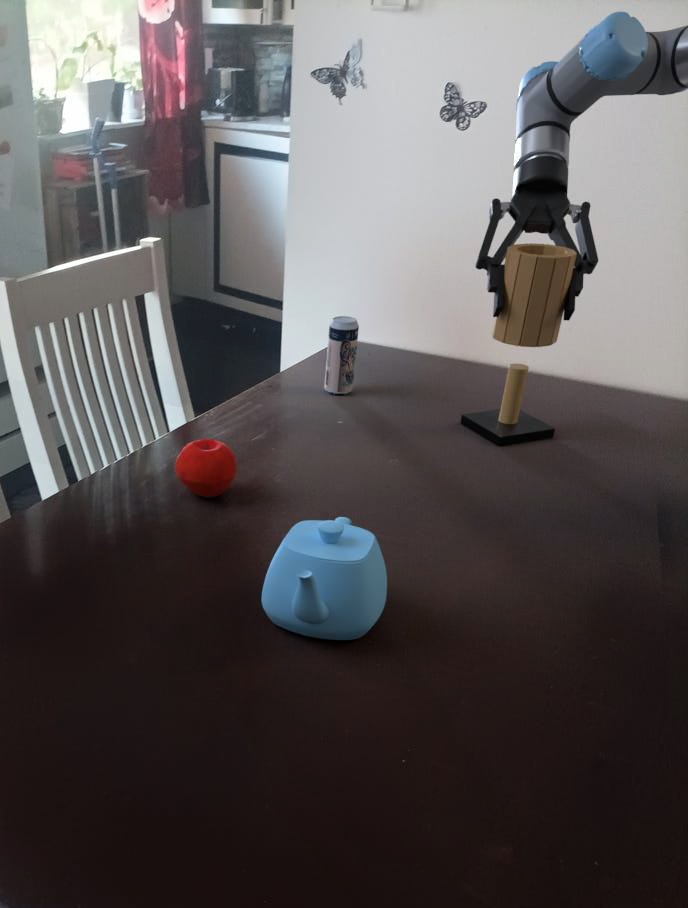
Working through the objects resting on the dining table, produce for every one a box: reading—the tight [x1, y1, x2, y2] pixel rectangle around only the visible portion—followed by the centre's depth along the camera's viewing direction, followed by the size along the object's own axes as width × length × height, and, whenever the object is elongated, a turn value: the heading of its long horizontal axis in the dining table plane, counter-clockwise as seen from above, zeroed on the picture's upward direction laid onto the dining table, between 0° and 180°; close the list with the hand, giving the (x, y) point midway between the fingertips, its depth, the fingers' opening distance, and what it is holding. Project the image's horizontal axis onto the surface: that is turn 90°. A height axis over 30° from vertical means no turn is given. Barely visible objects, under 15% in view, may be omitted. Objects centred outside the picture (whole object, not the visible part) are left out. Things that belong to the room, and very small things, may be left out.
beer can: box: [323, 315, 360, 395], centre depth 151 cm, size 5×5×12 cm
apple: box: [174, 438, 237, 498], centre depth 118 cm, size 8×8×7 cm
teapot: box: [260, 516, 388, 641], centre depth 92 cm, size 13×11×18 cm
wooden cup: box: [491, 242, 577, 348], centre depth 128 cm, size 9×9×12 cm
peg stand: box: [459, 363, 556, 447], centre depth 137 cm, size 10×10×10 cm
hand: (533, 313), depth 126 cm, fingers closed on wooden cup, 9 cm apart
